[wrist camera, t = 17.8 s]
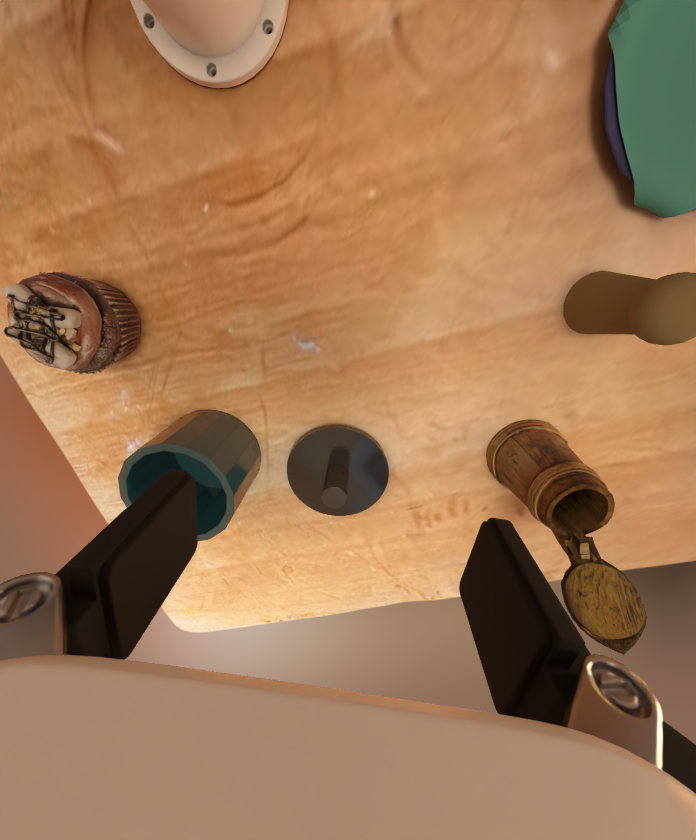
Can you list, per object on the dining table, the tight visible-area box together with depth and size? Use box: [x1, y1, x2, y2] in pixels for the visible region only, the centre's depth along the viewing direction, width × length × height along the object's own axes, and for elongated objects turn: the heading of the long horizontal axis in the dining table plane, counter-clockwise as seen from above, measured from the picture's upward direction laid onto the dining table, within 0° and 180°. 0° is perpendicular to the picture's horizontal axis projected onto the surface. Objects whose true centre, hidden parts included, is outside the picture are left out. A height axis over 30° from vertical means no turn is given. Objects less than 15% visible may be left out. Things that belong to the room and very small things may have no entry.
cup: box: [118, 410, 261, 541], centre depth 38 cm, size 12×12×10 cm
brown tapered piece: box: [564, 271, 696, 345], centre depth 29 cm, size 6×6×11 cm
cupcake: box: [2, 272, 141, 374], centre depth 32 cm, size 10×10×10 cm
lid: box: [287, 426, 389, 516], centre depth 40 cm, size 13×13×6 cm
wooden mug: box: [487, 420, 647, 654], centre depth 33 cm, size 9×14×18 cm, turn 11°
